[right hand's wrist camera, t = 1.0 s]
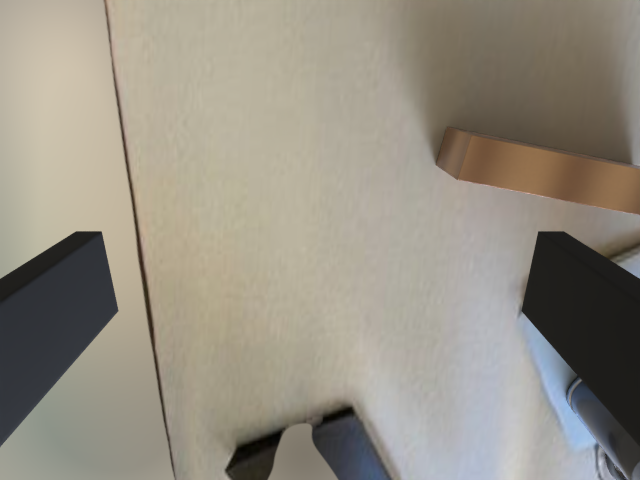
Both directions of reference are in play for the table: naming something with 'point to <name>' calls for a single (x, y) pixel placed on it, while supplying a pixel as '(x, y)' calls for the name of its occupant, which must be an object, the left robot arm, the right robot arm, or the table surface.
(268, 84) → the table surface
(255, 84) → the table surface
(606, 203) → the bar
